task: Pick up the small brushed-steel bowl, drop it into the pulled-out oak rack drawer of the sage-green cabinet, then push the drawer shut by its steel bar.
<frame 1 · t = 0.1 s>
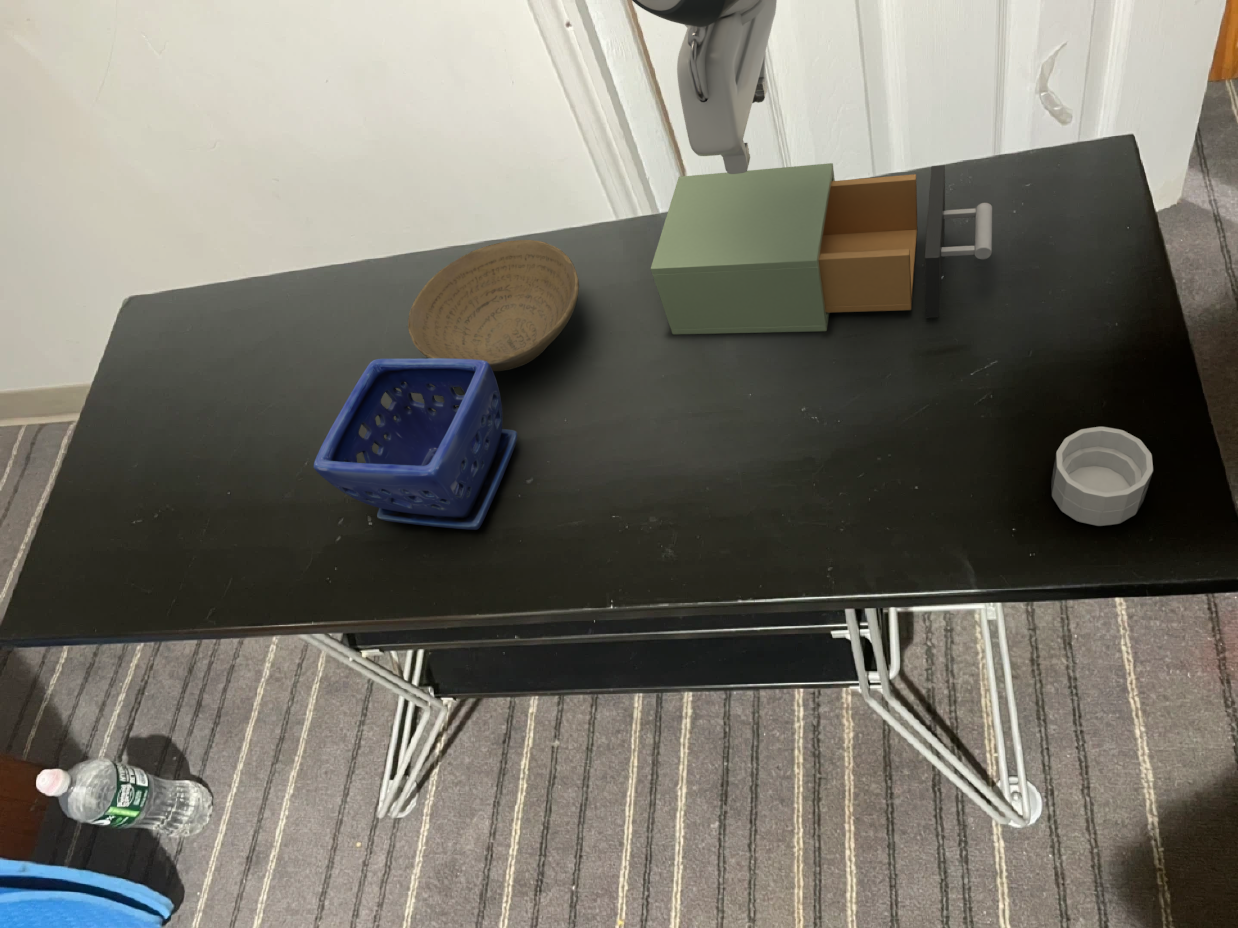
hand: (748, 131, 74), 20 cm above the table, tool pointing down, fingers open, 8 cm apart
cabinet: (757, 284, 92), on the table
bowl: (518, 350, 97), on the table
drawer: (884, 243, 84), point 5 cm above the table, slide at 9.0 cm
flower pot: (456, 487, 88), on the table
steel bowl: (1095, 494, 68), on the table
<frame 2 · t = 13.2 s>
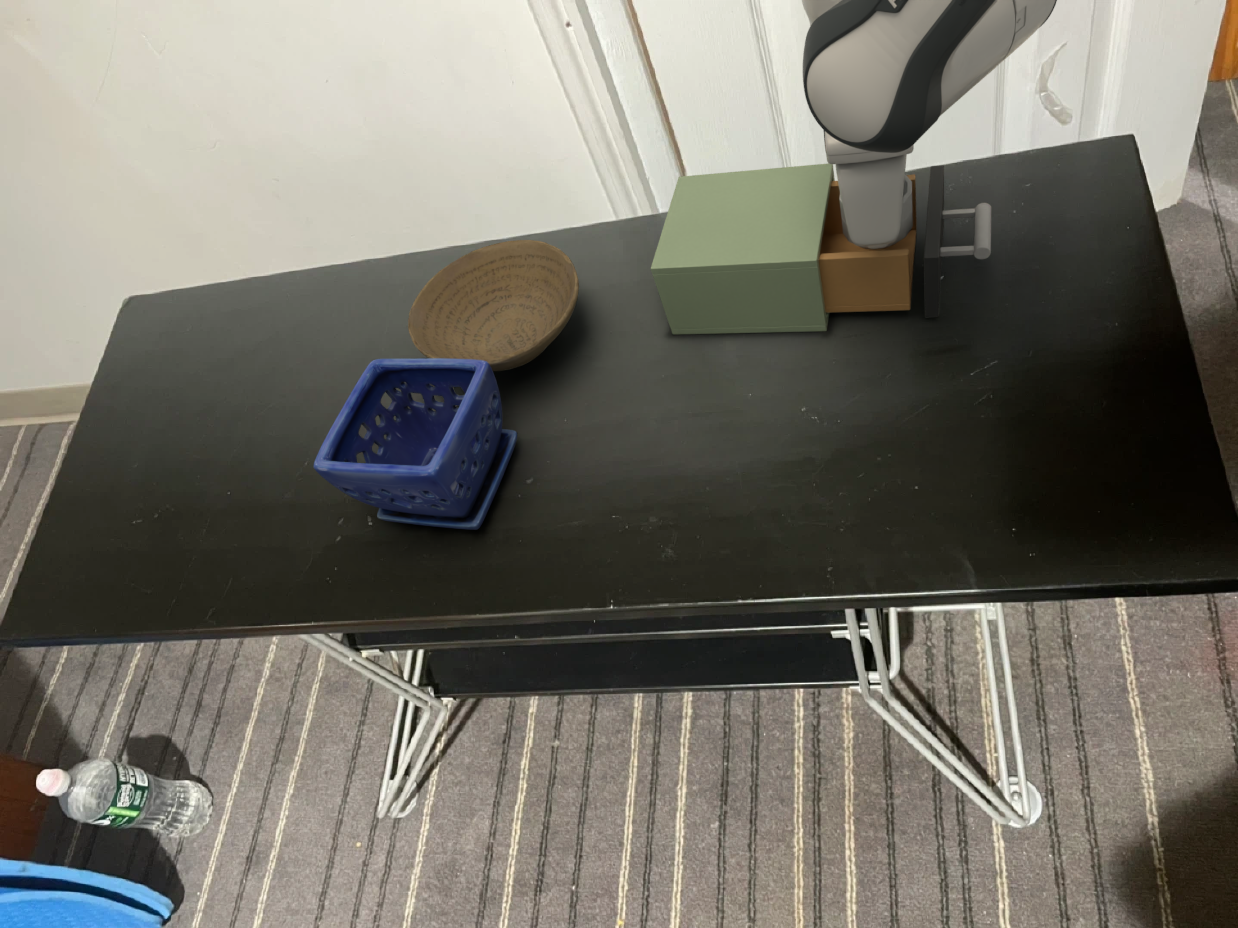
hand: (877, 214, 81), 8 cm above the table, tool pointing down, fingers closed on steel bowl, 6 cm apart
drawer: (883, 243, 84), point 5 cm above the table, slide at 8.9 cm, touching gripper
steel bowl: (877, 229, 83), point 6 cm above the table, touching gripper
everything else where it was.
when the fingers open (11 cm above the table, at t = 35.1 s): steel bowl drops 7 cm, resting on drawer.
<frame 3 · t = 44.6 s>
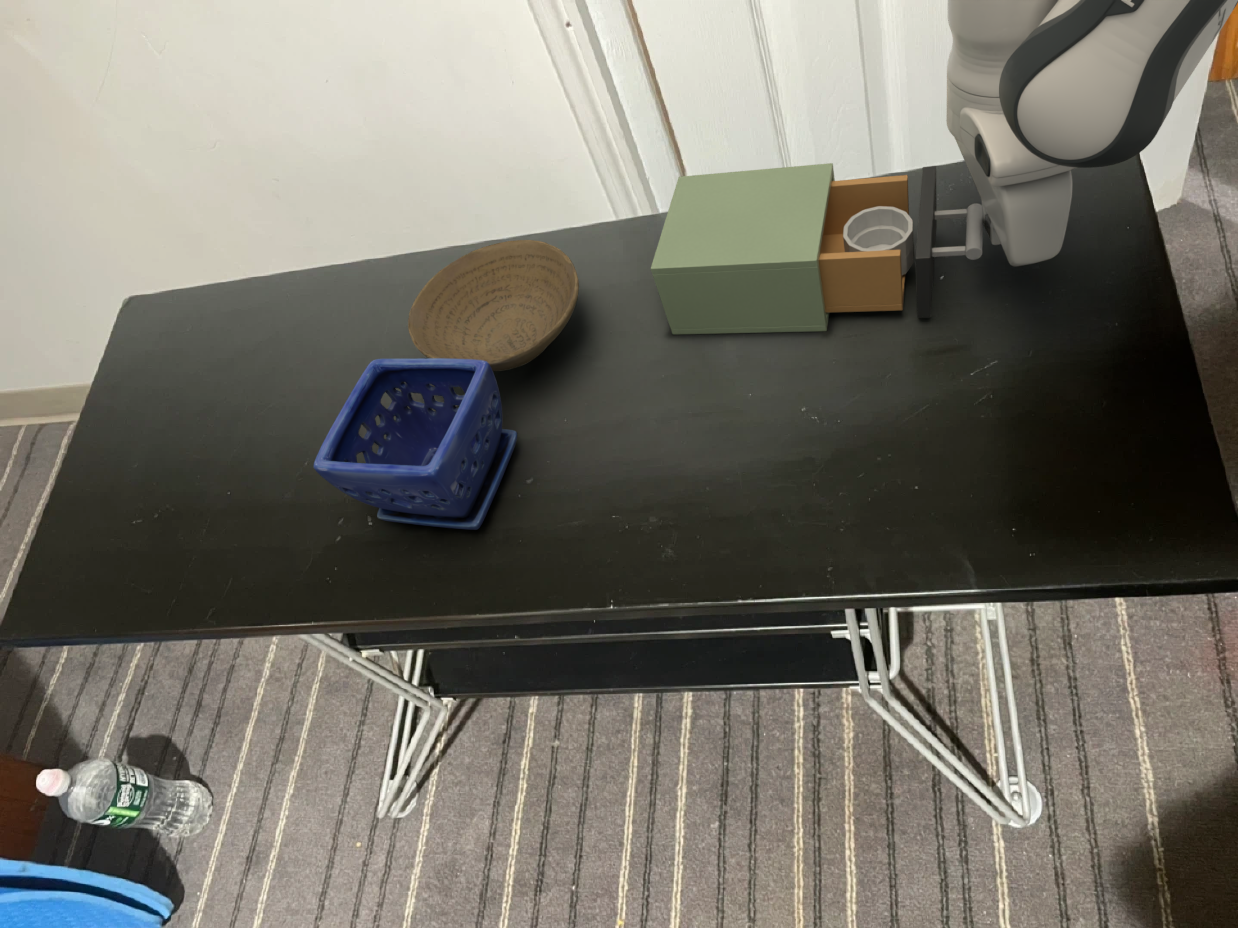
hand: (997, 233, 80), 5 cm above the table, tool pointing down, fingers closed
drawer: (875, 244, 84), point 5 cm above the table, slide at 8.2 cm, touching gripper, steel bowl
steel bowl: (880, 264, 86), point 2 cm above the table, touching drawer
everything else where it was.
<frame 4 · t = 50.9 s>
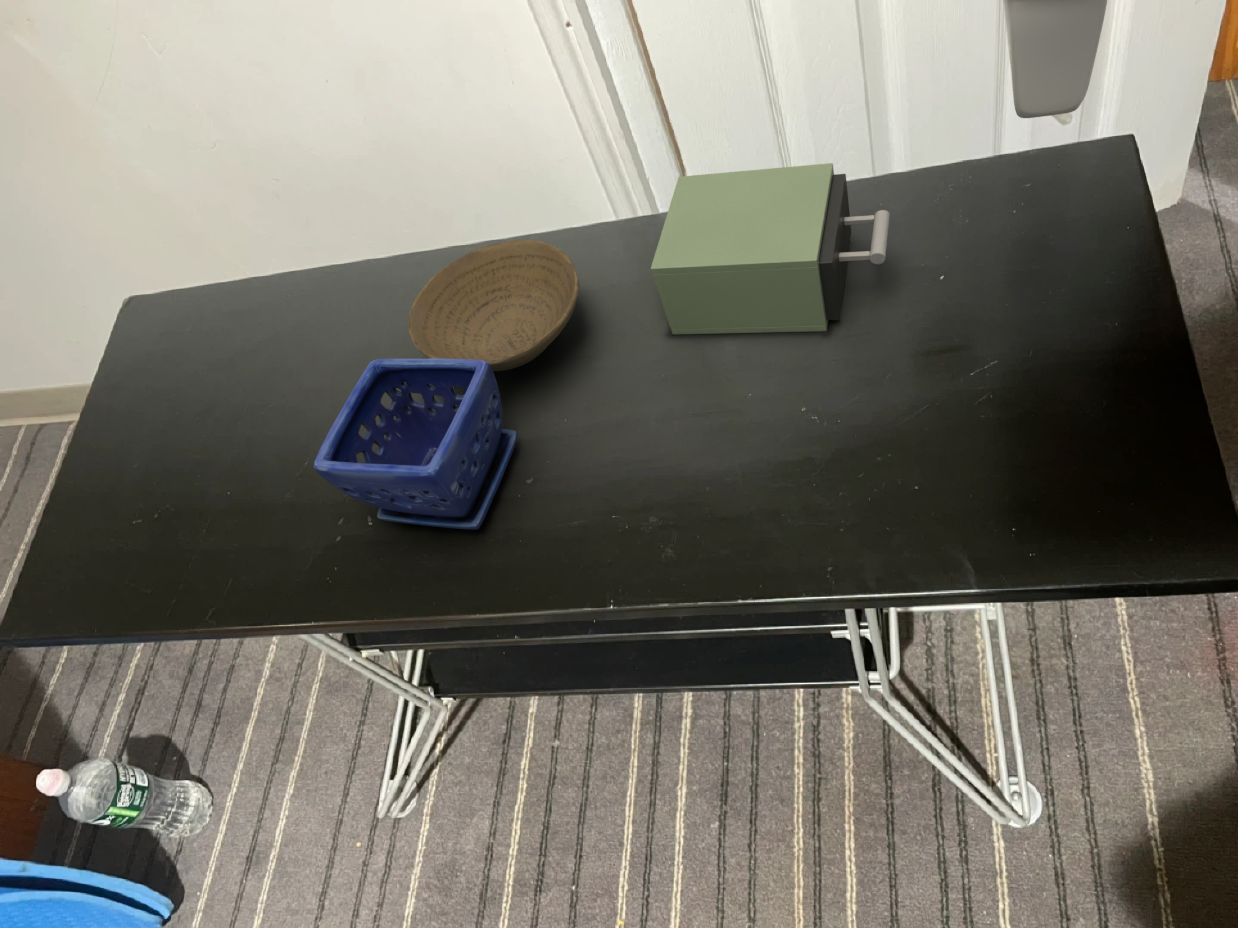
hand: (1029, 94, 62), 23 cm above the table, tool pointing down, fingers closed
drawer: (788, 249, 87), point 5 cm above the table, slide at 0.0 cm, touching steel bowl
steel bowl: (793, 268, 89), point 2 cm above the table, touching drawer
everything else where it was.
at the end: steel bowl inside the target area in the cabinet (0.0 cm from its centre), point 2.0 cm above the cabinet's base; drawer slide at 0.0 cm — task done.
